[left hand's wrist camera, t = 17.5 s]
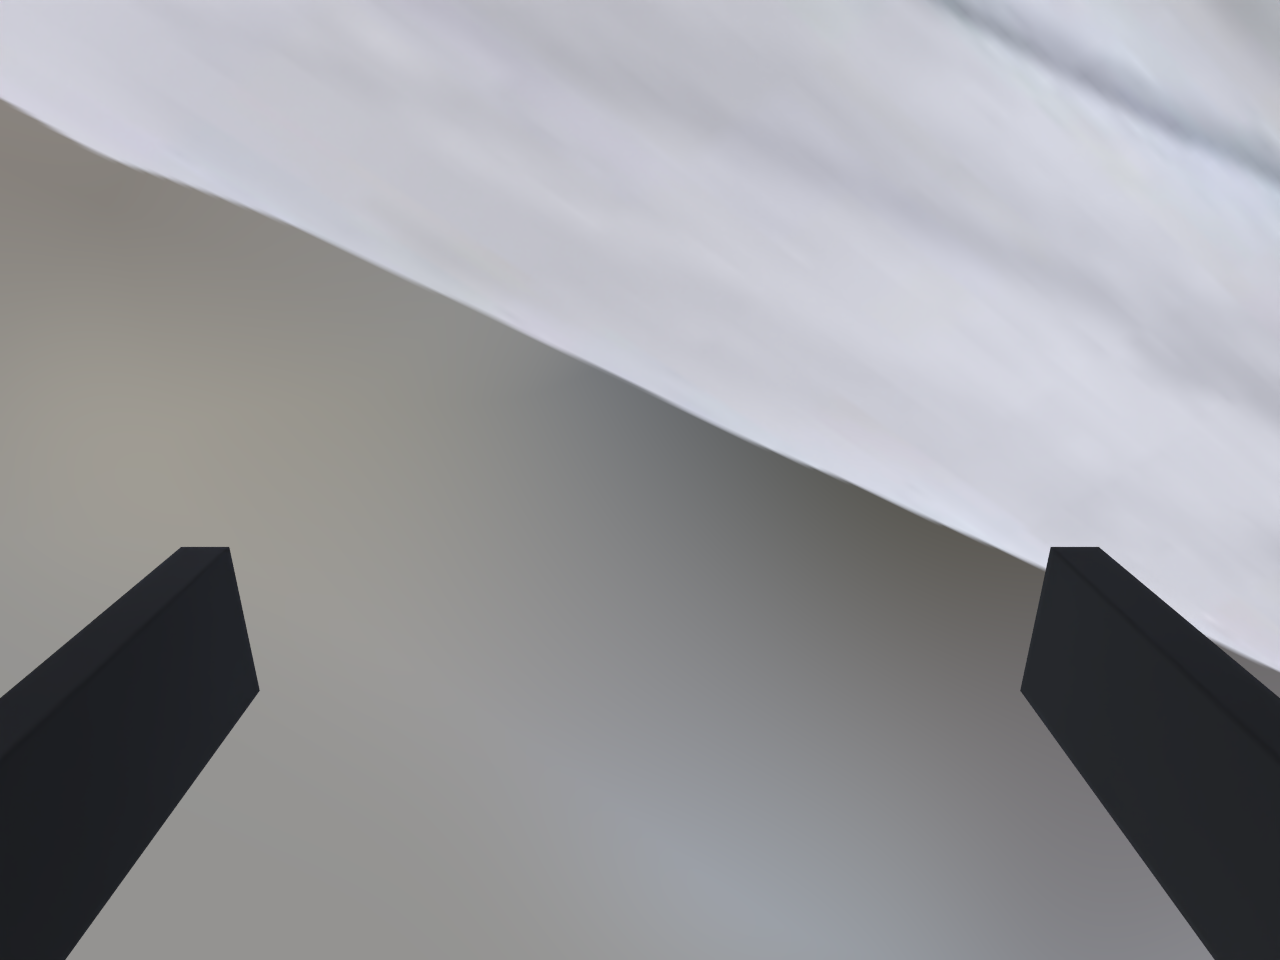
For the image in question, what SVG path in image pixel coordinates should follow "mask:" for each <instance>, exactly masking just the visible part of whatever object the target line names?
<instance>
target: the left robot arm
mask: <svg viewBox="0 0 1280 960" xmlns="http://www.w3.org/2000/svg"><path fill="white" fill-rule="evenodd" d="M1020 691H1021V692H1022V694H1023V695H1024V696H1025V698H1026V699H1027V700H1028V702H1029V703H1030V705H1031V706H1032V707H1033V709H1034V710H1035V712H1036V713H1037V714H1038V716H1039V717H1040V718H1041V720H1042V721H1043V723H1044V724H1045V725H1046V727H1047V728H1048V730H1049V731H1050V732H1051V734H1052V735H1053V736H1054V738H1055V739H1056V741H1057V742H1058V743H1059V745H1060V746H1061V748H1062V749H1063V750H1064V752H1065V753H1066V754H1067V756H1068V757H1069V759H1070V760H1071V761H1072V763H1073V764H1074V766H1075V767H1076V768H1077V770H1078V771H1079V772H1080V774H1081V775H1082V777H1083V778H1084V779H1085V781H1086V782H1087V784H1088V785H1089V786H1090V788H1091V789H1092V790H1093V792H1094V793H1095V795H1096V796H1097V797H1098V799H1099V800H1100V802H1101V803H1102V804H1103V806H1104V807H1105V808H1106V810H1107V811H1108V813H1109V814H1110V815H1111V817H1112V818H1113V820H1114V821H1115V822H1116V824H1117V825H1118V826H1119V828H1120V829H1121V831H1122V832H1123V833H1124V835H1125V836H1126V838H1127V839H1128V840H1129V842H1130V843H1131V844H1132V846H1133V847H1134V849H1135V850H1136V851H1137V853H1138V854H1139V856H1140V857H1141V858H1142V860H1143V861H1144V862H1145V864H1146V865H1147V867H1148V868H1149V869H1150V871H1151V872H1152V874H1153V875H1154V876H1155V878H1156V879H1157V880H1158V882H1159V883H1160V885H1161V886H1162V887H1163V889H1164V890H1165V892H1166V893H1167V894H1168V896H1169V897H1170V898H1171V900H1172V901H1173V903H1174V904H1175V905H1176V907H1177V908H1178V910H1179V911H1180V912H1181V914H1182V915H1183V916H1184V918H1185V919H1186V921H1187V922H1188V923H1189V925H1190V926H1191V927H1192V929H1193V930H1194V932H1195V933H1196V934H1197V936H1198V937H1199V939H1200V940H1201V941H1202V943H1203V944H1204V946H1205V947H1206V948H1207V950H1208V951H1209V952H1210V954H1211V955H1212V957H1213V958H1214V959H1215V960H1280V698H1279V697H1278V696H1277V695H1275V694H1274V693H1273V692H1272V691H1270V690H1269V689H1268V688H1267V687H1266V686H1264V685H1263V684H1262V683H1261V682H1260V681H1259V680H1257V679H1256V678H1255V677H1254V676H1253V675H1251V674H1250V673H1249V672H1248V671H1247V670H1245V669H1244V668H1243V667H1242V666H1241V665H1239V664H1238V663H1237V662H1236V661H1235V660H1233V659H1232V658H1231V657H1230V656H1229V655H1227V654H1226V653H1225V652H1224V651H1223V650H1221V649H1220V648H1219V647H1218V646H1217V645H1215V644H1214V643H1213V642H1212V641H1211V640H1209V639H1208V638H1207V637H1206V636H1205V635H1203V634H1202V633H1201V632H1200V631H1199V630H1197V629H1196V628H1195V627H1194V626H1193V625H1191V624H1190V623H1189V622H1188V621H1187V620H1186V619H1184V618H1183V617H1182V616H1181V615H1180V614H1178V613H1177V612H1176V611H1175V610H1174V609H1172V608H1171V607H1170V606H1169V605H1168V604H1166V603H1165V602H1164V601H1163V600H1162V599H1160V598H1159V597H1158V596H1157V595H1156V594H1154V593H1153V592H1152V591H1151V590H1150V589H1148V588H1147V587H1146V586H1145V585H1144V584H1142V583H1141V582H1140V581H1139V580H1138V579H1136V578H1135V577H1134V576H1133V575H1132V574H1130V573H1129V572H1128V571H1127V570H1126V569H1124V568H1123V567H1122V566H1121V565H1120V564H1118V563H1117V562H1116V561H1115V560H1114V559H1112V558H1111V557H1110V556H1109V555H1108V554H1106V553H1105V552H1104V551H1103V550H1102V549H1100V548H1099V547H1051V549H1050V553H1049V558H1048V563H1047V567H1046V572H1045V577H1044V582H1043V586H1042V591H1041V596H1040V601H1039V605H1038V610H1037V615H1036V620H1035V624H1034V629H1033V634H1032V638H1031V643H1030V648H1029V653H1028V657H1027V662H1026V667H1025V671H1024V676H1023V681H1022V685H1021V690H1020ZM258 692H259V686H258V681H257V676H256V671H255V667H254V662H253V657H252V653H251V648H250V643H249V638H248V634H247V629H246V624H245V620H244V615H243V610H242V605H241V600H240V596H239V591H238V586H237V582H236V577H235V572H234V567H233V563H232V558H231V553H230V549H229V547H181V548H180V549H178V550H177V551H176V552H175V553H174V554H172V555H171V556H170V557H169V558H168V559H166V560H165V561H164V562H163V563H162V564H160V565H159V566H158V567H157V568H156V569H154V570H153V571H152V572H151V573H150V574H148V575H147V576H146V577H145V578H144V579H143V580H141V581H140V582H139V583H138V584H136V585H135V586H134V587H133V588H132V589H130V590H129V591H128V592H127V593H126V594H124V595H123V596H122V597H121V598H120V599H118V600H117V601H116V602H115V603H114V604H112V605H111V606H110V607H109V608H108V609H107V610H105V611H104V612H103V613H102V614H100V615H99V616H98V617H97V618H96V619H94V620H93V621H92V622H91V623H90V624H89V625H87V626H86V627H85V628H84V629H83V630H81V631H80V632H79V633H78V634H77V635H75V636H74V637H73V638H72V639H71V640H69V641H68V642H67V643H66V644H65V645H63V646H62V647H61V648H60V649H59V650H57V651H56V652H55V653H54V654H53V655H51V656H50V657H49V658H48V659H47V660H45V661H44V662H43V663H42V664H41V665H39V666H38V667H37V668H36V669H35V670H34V671H32V672H31V673H30V674H29V675H27V676H26V677H25V678H24V679H23V680H21V681H20V682H19V683H18V684H17V685H15V686H14V687H13V688H12V689H11V690H9V691H8V692H7V693H6V694H5V695H3V696H2V697H1V698H0V960H65V959H66V958H67V957H68V955H69V954H70V952H71V951H72V950H73V948H74V947H75V946H76V944H77V943H78V941H79V940H80V939H81V937H82V936H83V934H84V933H85V932H86V930H87V929H88V928H89V926H90V925H91V923H92V922H93V921H94V919H95V918H96V916H97V915H98V914H99V912H100V911H101V910H102V908H103V907H104V905H105V904H106V903H107V901H108V900H109V898H110V897H111V896H112V894H113V893H114V892H115V890H116V889H117V887H118V886H119V884H120V883H121V882H122V880H123V879H124V878H125V876H126V875H127V874H128V872H129V871H130V869H131V868H132V867H133V865H134V864H135V862H136V861H137V860H138V858H139V857H140V856H141V854H142V853H143V851H144V850H145V849H146V847H147V846H148V844H149V843H150V842H151V840H152V839H153V838H154V836H155V835H156V833H157V832H158V831H159V829H160V828H161V826H162V825H163V824H164V822H165V821H166V819H167V818H168V817H169V815H170V814H171V813H172V811H173V810H174V808H175V807H176V806H177V804H178V803H179V801H180V800H181V799H182V797H183V796H184V795H185V793H186V792H187V790H188V789H189V788H190V786H191V785H192V784H193V782H194V781H195V779H196V778H197V777H198V775H199V774H200V772H201V771H202V770H203V768H204V767H205V765H206V764H207V763H208V761H209V760H210V759H211V757H212V756H213V754H214V753H215V752H216V750H217V749H218V748H219V746H220V745H221V743H222V742H223V741H224V739H225V738H226V736H227V735H228V734H229V732H230V731H231V730H232V728H233V727H234V725H235V724H236V723H237V721H238V720H239V718H240V717H241V716H242V714H243V713H244V712H245V710H246V709H247V707H248V706H249V705H250V703H251V702H252V700H253V699H254V698H255V696H256V695H257V693H258Z"/></svg>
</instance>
